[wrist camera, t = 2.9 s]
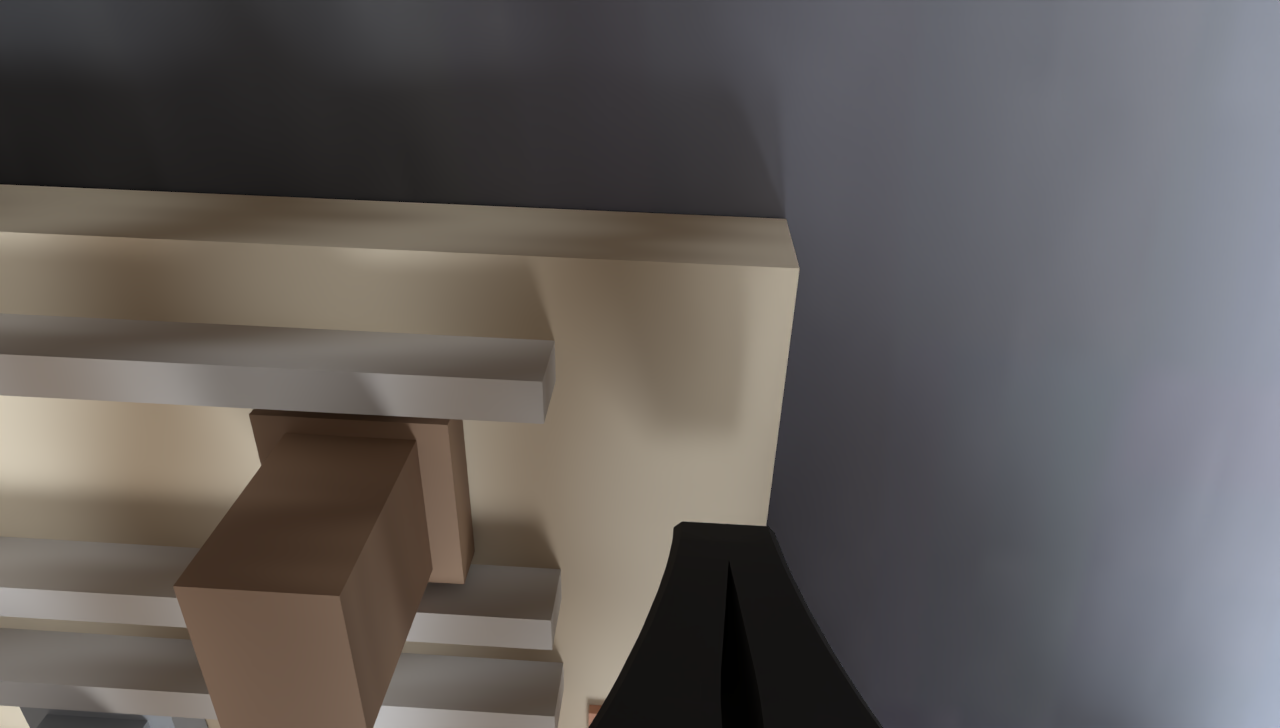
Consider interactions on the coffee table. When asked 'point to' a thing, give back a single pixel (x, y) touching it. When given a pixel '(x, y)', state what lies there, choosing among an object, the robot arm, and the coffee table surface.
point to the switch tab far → (103, 720)
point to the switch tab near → (326, 565)
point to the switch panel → (373, 385)
